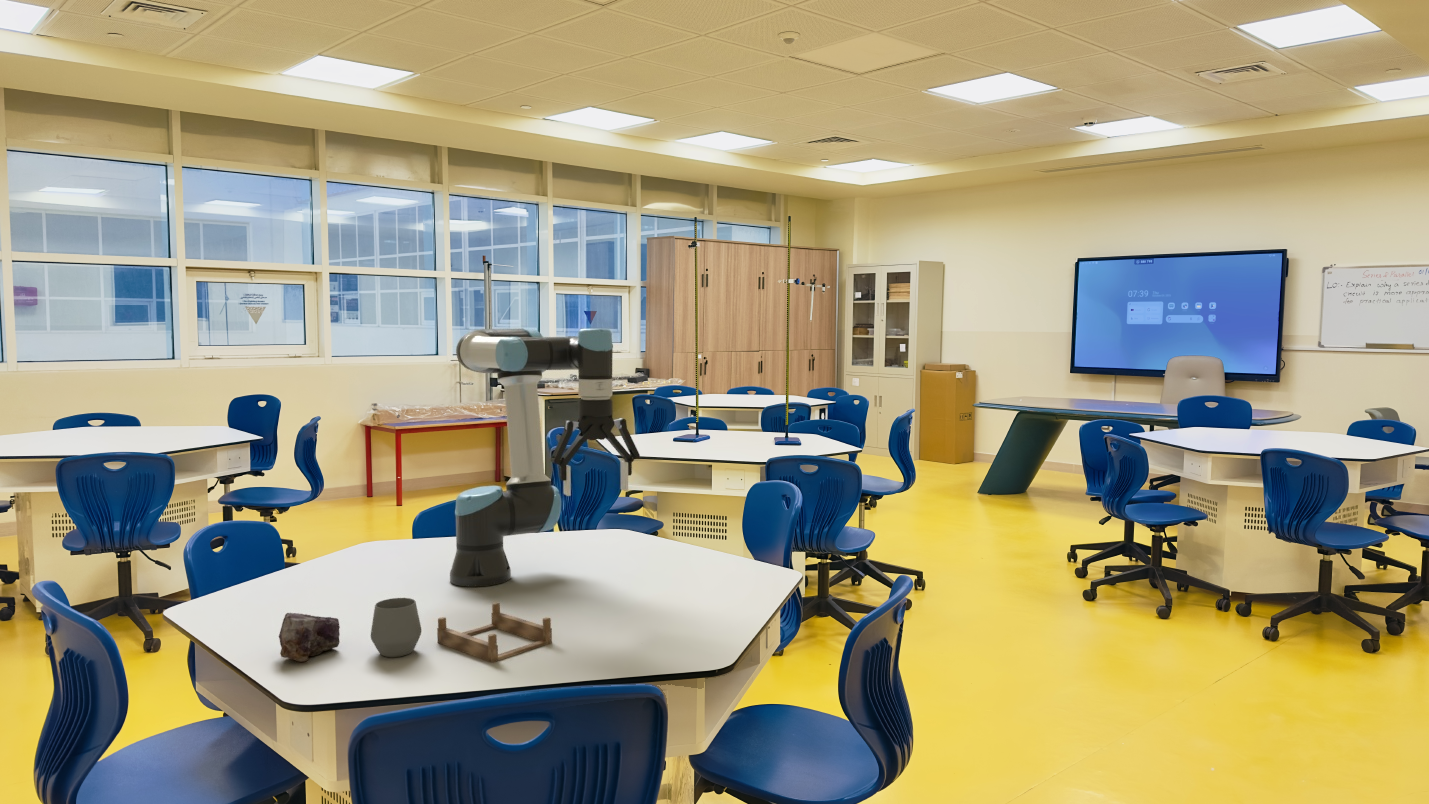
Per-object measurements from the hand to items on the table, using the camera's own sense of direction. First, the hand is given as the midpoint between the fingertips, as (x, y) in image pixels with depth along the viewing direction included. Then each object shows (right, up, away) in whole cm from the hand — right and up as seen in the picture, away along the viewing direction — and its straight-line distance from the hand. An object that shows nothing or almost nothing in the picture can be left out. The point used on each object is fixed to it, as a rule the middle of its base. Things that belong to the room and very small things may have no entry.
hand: (596, 492), depth 208 cm
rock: (-54, -30, -26) cm, 67 cm away
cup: (-36, -29, -25) cm, 53 cm away
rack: (-18, -29, -19) cm, 39 cm away
